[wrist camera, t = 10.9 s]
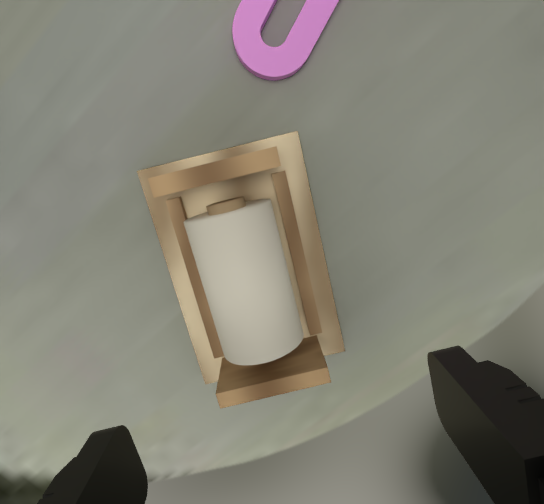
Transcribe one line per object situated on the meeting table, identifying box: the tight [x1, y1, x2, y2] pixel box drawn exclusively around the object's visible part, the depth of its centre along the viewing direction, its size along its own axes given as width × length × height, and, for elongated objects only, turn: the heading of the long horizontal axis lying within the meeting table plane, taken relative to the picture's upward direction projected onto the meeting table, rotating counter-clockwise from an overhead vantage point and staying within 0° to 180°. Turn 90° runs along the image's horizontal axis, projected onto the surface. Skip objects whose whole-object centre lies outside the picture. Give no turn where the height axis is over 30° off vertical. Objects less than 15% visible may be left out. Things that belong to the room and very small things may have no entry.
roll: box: [184, 197, 304, 365], centre depth 27 cm, size 11×6×6 cm, turn 14°
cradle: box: [137, 131, 345, 408], centre depth 28 cm, size 12×18×6 cm, turn 14°
